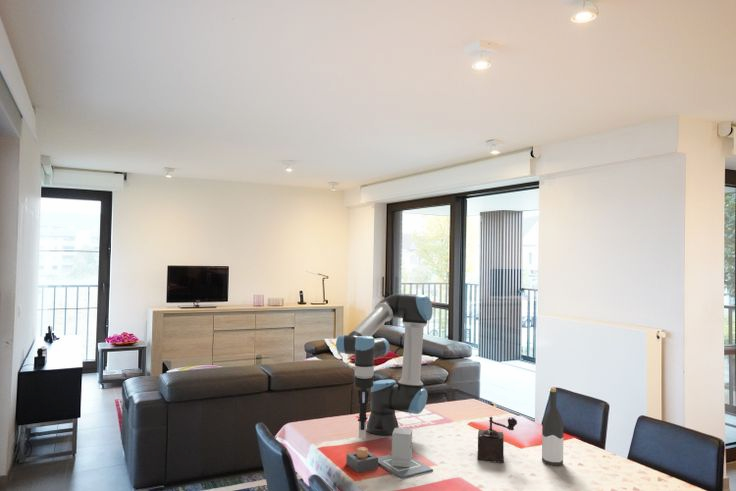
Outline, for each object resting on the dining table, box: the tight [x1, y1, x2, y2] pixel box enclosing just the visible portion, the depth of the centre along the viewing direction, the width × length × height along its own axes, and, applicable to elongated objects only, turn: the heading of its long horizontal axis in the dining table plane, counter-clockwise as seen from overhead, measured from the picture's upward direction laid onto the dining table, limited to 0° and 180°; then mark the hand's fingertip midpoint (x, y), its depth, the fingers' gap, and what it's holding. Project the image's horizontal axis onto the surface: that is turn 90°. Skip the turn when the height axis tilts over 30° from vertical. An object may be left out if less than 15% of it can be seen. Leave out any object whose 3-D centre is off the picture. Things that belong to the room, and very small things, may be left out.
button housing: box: [345, 450, 379, 473], centre depth 201 cm, size 9×9×4 cm
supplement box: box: [391, 427, 413, 467], centre depth 203 cm, size 7×7×13 cm
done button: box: [356, 446, 369, 459], centre depth 201 cm, size 4×4×4 cm
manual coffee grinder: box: [476, 416, 518, 463], centre depth 213 cm, size 16×11×18 cm
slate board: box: [377, 453, 434, 480], centre depth 203 cm, size 20×15×1 cm
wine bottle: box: [541, 386, 564, 467], centre depth 210 cm, size 8×8×30 cm
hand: (362, 437), depth 201 cm, fingers closed
